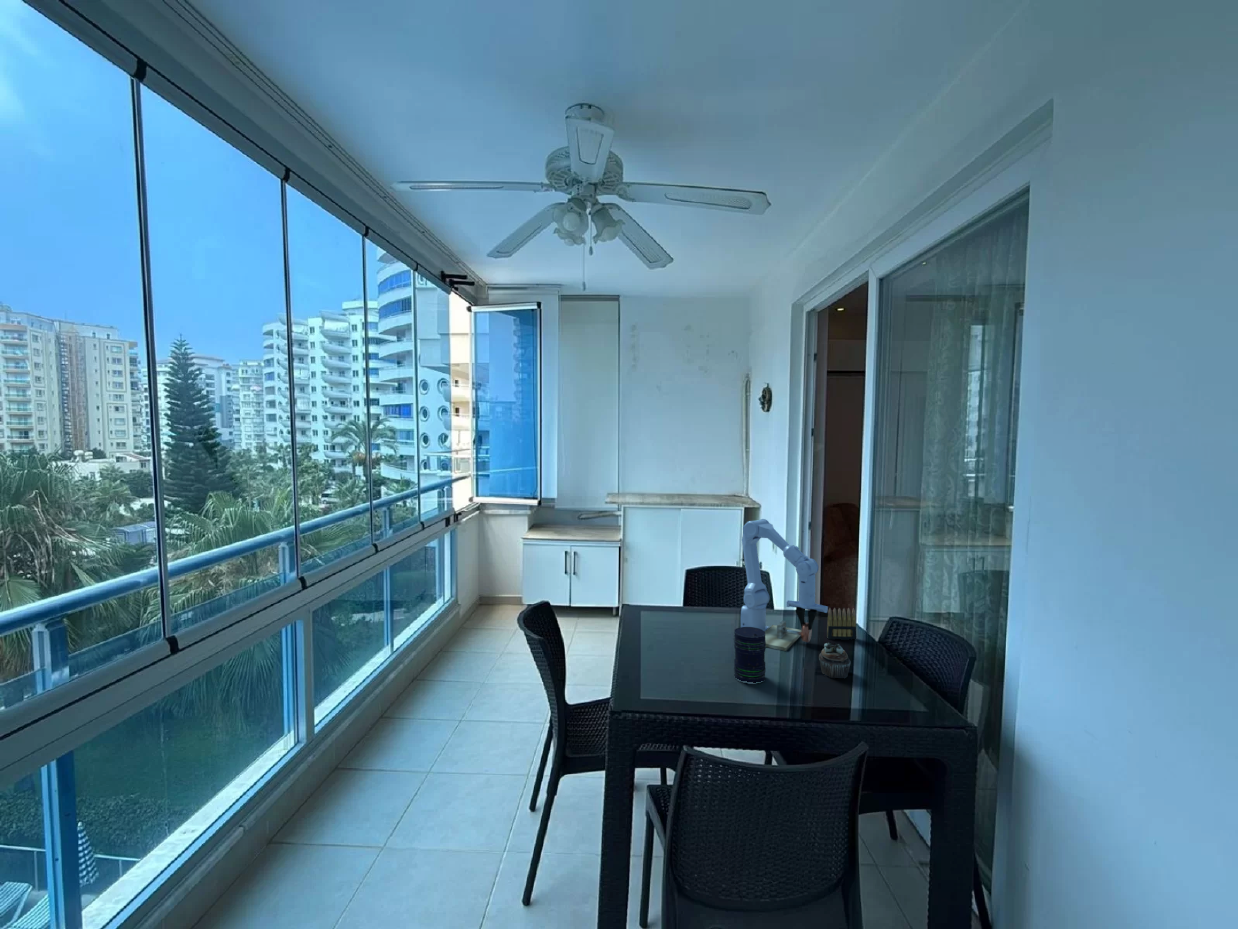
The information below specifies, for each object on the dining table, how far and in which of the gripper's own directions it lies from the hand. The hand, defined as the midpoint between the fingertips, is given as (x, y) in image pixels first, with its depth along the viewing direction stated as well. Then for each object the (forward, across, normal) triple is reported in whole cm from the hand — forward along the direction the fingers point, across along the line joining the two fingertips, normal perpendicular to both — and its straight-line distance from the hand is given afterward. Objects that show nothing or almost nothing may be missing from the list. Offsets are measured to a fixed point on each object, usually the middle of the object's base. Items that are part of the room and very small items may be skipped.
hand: (806, 628), depth 207 cm
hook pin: (+5, -5, 0) cm, 7 cm away
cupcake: (+6, +15, -22) cm, 27 cm away
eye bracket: (+6, -9, 0) cm, 11 cm away
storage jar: (+6, -7, -40) cm, 41 cm away
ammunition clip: (+6, +10, +13) cm, 17 cm away
